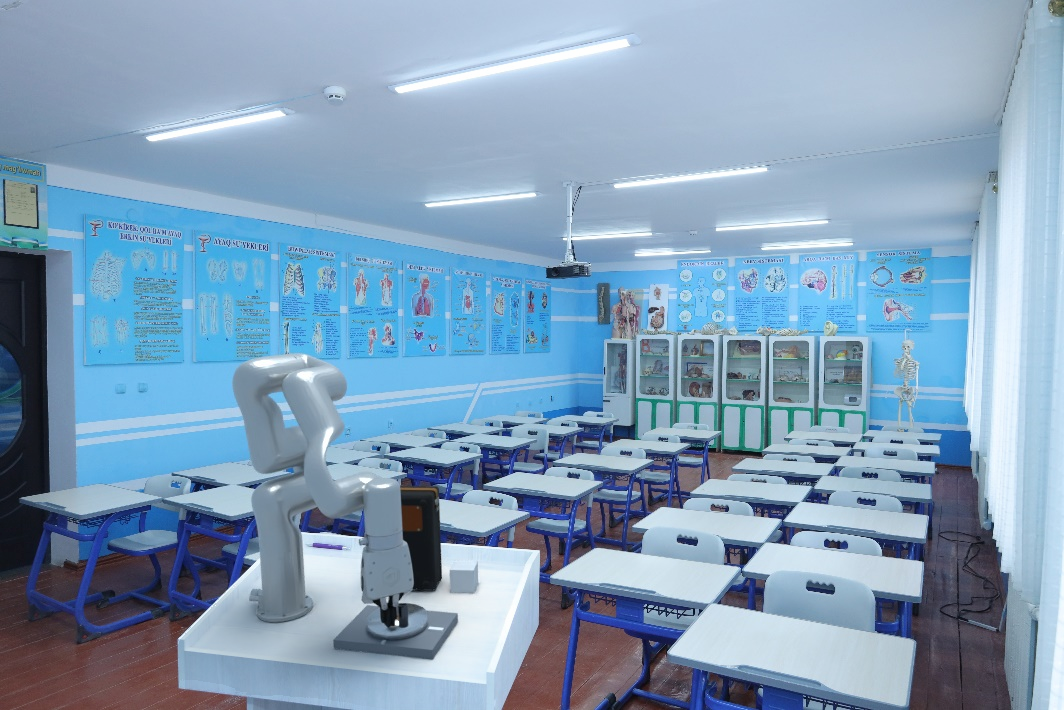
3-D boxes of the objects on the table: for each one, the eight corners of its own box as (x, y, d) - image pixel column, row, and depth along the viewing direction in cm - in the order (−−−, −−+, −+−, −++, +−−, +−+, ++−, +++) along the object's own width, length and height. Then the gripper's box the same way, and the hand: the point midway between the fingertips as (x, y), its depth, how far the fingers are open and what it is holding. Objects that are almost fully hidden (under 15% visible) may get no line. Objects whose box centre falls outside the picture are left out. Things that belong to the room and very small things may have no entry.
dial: (359, 619, 157) (358, 592, 156) (416, 605, 163) (415, 579, 162) (376, 645, 146) (375, 616, 145) (436, 629, 152) (435, 601, 151)
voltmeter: (444, 578, 183) (441, 484, 180) (436, 593, 174) (433, 494, 172) (385, 577, 185) (381, 483, 182) (374, 592, 176) (370, 494, 173)
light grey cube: (455, 582, 181) (454, 560, 180) (478, 583, 180) (477, 560, 179) (450, 593, 175) (449, 569, 174) (474, 593, 174) (473, 570, 173)
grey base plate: (333, 648, 149) (333, 638, 149) (367, 613, 165) (367, 603, 165) (432, 659, 145) (432, 648, 144) (457, 621, 160) (457, 611, 160)
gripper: (354, 553, 139) (359, 642, 141) (425, 536, 147) (429, 621, 149) (343, 541, 146) (348, 627, 148) (411, 526, 153) (415, 608, 155)
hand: (389, 624), depth 148 cm, fingers closed
